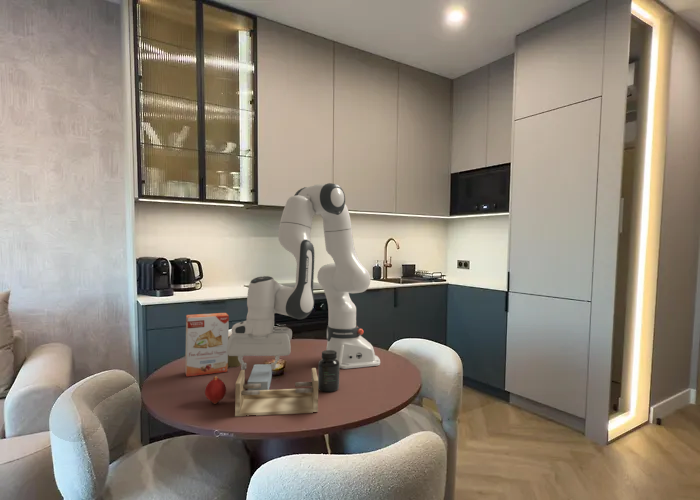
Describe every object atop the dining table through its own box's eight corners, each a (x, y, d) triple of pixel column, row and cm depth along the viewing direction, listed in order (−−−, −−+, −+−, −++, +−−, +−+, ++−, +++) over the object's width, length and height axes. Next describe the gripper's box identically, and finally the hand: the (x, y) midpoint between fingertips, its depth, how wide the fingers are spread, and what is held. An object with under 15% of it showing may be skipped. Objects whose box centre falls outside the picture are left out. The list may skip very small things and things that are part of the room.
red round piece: (208, 399, 117) (208, 372, 117) (227, 399, 118) (228, 372, 117) (202, 407, 111) (202, 379, 111) (223, 407, 112) (223, 379, 112)
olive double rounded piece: (243, 362, 153) (243, 334, 153) (237, 367, 147) (237, 338, 147) (228, 361, 153) (228, 334, 153) (221, 366, 147) (222, 337, 147)
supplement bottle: (320, 384, 131) (320, 348, 131) (340, 385, 131) (341, 349, 130) (316, 391, 125) (316, 354, 124) (337, 393, 124) (338, 355, 124)
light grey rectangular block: (254, 378, 136) (254, 364, 136) (271, 378, 137) (271, 364, 137) (247, 398, 119) (247, 382, 119) (267, 397, 120) (267, 381, 120)
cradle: (315, 397, 120) (315, 367, 120) (317, 412, 110) (318, 380, 109) (240, 400, 117) (240, 370, 117) (235, 416, 106) (235, 383, 106)
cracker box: (186, 377, 135) (187, 317, 135) (184, 372, 140) (185, 314, 140) (228, 372, 141) (229, 314, 141) (225, 367, 147) (226, 311, 146)
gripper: (292, 324, 132) (290, 365, 132) (229, 324, 129) (228, 366, 129) (292, 328, 126) (290, 371, 126) (226, 328, 123) (225, 372, 123)
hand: (258, 368), depth 128 cm, fingers open, 8 cm apart
